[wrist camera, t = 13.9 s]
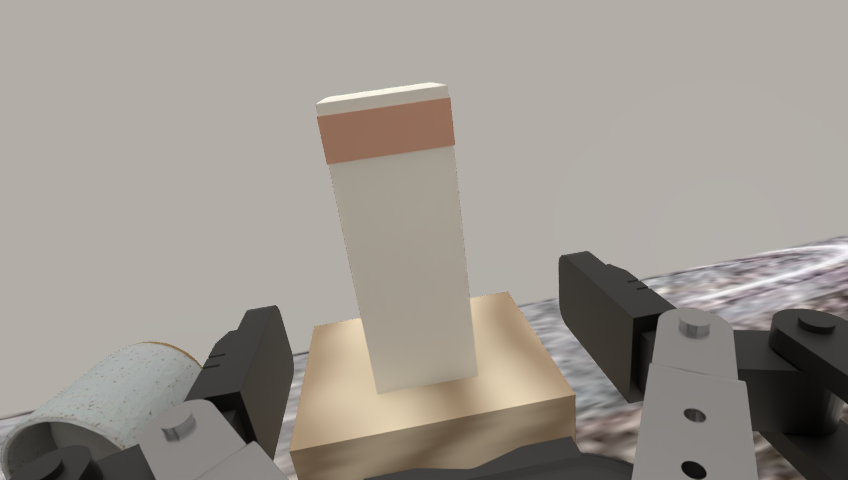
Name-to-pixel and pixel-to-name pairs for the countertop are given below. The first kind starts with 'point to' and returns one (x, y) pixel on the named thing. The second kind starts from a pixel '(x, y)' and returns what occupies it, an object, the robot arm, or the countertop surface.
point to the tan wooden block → (428, 403)
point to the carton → (402, 230)
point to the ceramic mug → (104, 405)
